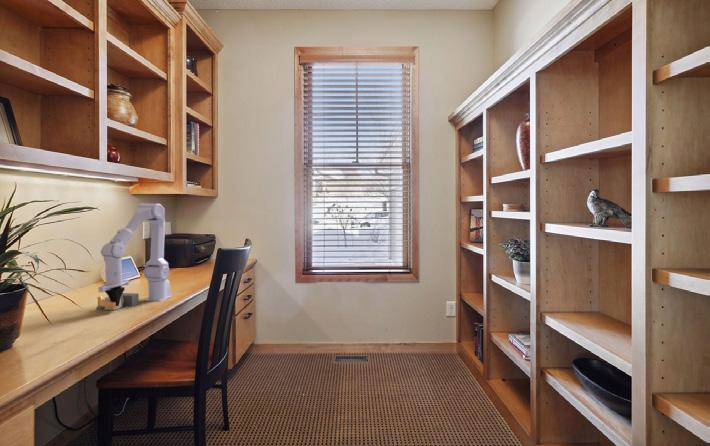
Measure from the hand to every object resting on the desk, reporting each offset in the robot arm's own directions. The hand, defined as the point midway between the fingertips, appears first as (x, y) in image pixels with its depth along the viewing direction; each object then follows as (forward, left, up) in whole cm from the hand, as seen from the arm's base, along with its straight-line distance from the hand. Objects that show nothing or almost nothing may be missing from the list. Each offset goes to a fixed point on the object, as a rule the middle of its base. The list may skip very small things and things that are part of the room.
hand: (115, 305), depth 160 cm
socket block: (-6, -4, -2) cm, 8 cm away
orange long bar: (+1, -3, -1) cm, 4 cm away
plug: (-4, -3, -2) cm, 6 cm away
